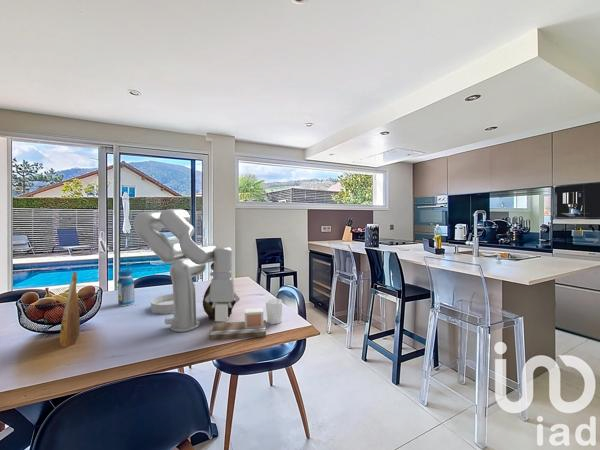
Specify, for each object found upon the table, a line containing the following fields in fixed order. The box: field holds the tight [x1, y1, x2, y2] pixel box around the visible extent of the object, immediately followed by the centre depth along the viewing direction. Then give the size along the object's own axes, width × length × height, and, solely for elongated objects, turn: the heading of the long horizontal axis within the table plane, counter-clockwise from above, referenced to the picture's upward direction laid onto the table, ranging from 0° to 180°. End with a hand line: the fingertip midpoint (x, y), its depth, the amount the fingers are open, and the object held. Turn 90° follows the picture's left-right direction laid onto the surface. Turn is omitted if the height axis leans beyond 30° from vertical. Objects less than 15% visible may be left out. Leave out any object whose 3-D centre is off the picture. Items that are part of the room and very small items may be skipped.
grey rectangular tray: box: [209, 319, 267, 341], centre depth 127 cm, size 23×13×3 cm, turn 97°
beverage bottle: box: [116, 268, 136, 307], centre depth 169 cm, size 8×8×20 cm
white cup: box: [265, 298, 283, 325], centre depth 138 cm, size 8×8×10 cm
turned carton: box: [214, 302, 229, 322], centre depth 127 cm, size 8×5×7 cm, turn 7°
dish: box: [150, 293, 174, 315], centre depth 163 cm, size 22×22×5 cm
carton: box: [244, 307, 265, 329], centre depth 128 cm, size 8×5×7 cm, turn 97°
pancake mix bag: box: [59, 270, 81, 348], centre depth 121 cm, size 7×19×28 cm, turn 30°
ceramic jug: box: [202, 261, 235, 322], centre depth 146 cm, size 17×15×30 cm
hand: (222, 315), depth 127 cm, fingers closed on turned carton, 5 cm apart
